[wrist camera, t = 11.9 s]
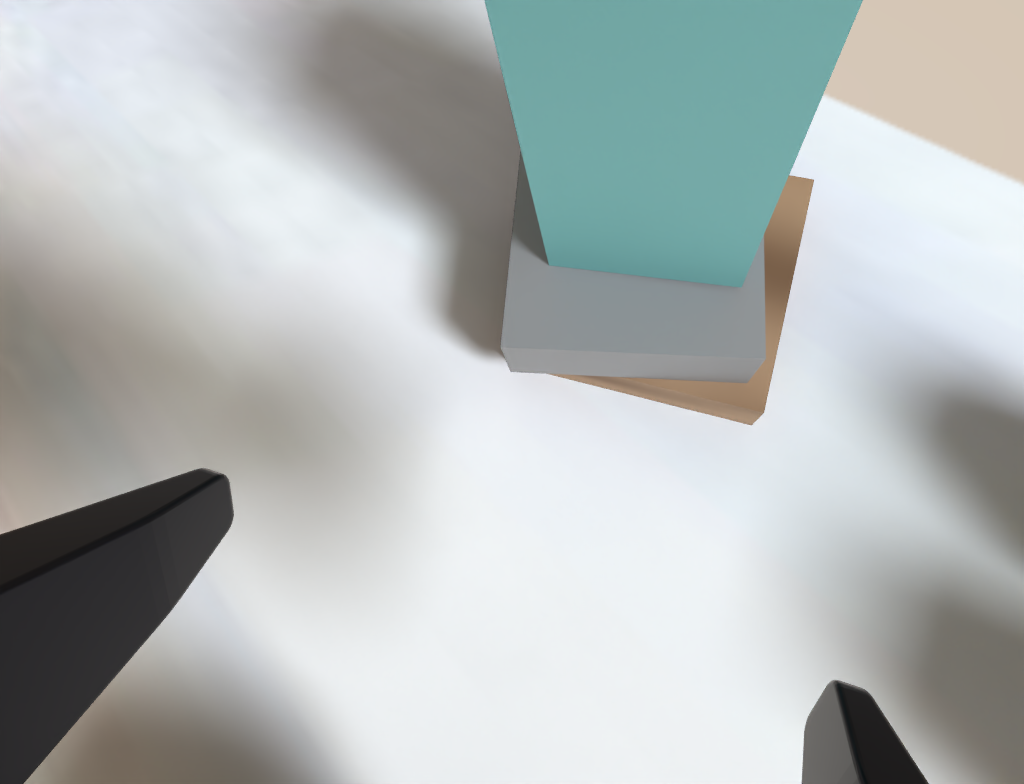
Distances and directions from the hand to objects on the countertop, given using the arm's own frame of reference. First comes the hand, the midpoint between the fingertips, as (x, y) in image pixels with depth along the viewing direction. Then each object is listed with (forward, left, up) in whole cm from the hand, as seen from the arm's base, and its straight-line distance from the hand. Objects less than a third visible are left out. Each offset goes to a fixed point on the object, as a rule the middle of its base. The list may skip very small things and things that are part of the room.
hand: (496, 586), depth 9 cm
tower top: (+11, -3, -12) cm, 16 cm away
